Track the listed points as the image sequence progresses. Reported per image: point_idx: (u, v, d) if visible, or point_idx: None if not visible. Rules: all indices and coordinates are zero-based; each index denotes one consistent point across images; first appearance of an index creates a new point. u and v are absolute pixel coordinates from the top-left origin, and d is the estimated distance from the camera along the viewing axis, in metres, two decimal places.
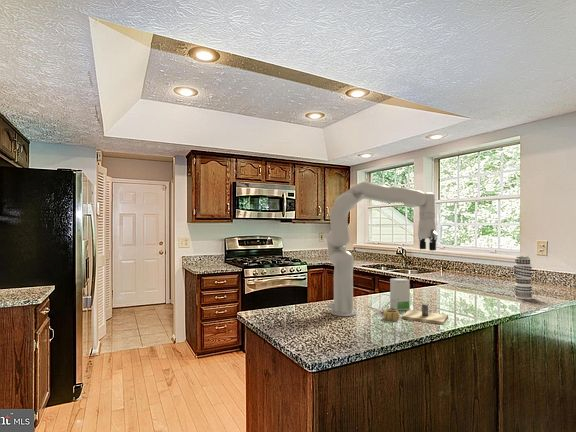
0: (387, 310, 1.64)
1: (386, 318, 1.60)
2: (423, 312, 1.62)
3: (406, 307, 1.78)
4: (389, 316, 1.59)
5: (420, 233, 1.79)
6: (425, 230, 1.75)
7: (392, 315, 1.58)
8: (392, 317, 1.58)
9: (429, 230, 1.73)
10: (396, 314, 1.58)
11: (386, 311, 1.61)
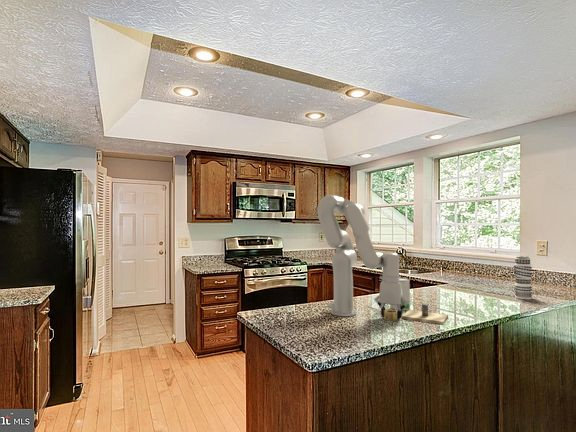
0: (387, 310, 1.64)
1: (386, 318, 1.60)
2: (423, 312, 1.62)
3: (406, 307, 1.78)
4: (389, 316, 1.59)
5: (385, 298, 1.60)
6: (396, 296, 1.58)
7: (392, 315, 1.58)
8: (392, 317, 1.58)
9: (400, 296, 1.58)
10: (396, 314, 1.58)
11: (386, 311, 1.61)
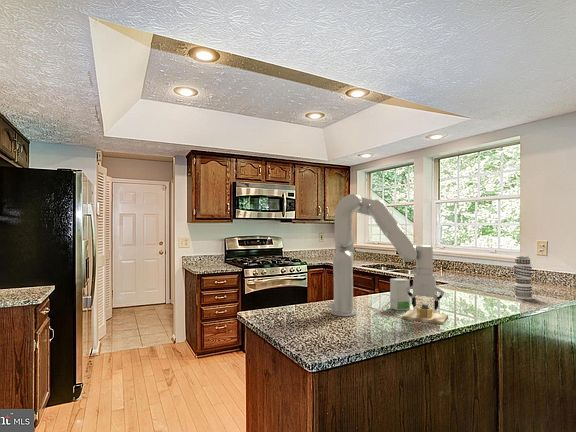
0: (420, 307, 1.65)
1: (420, 315, 1.61)
2: None
3: (406, 307, 1.78)
4: (423, 312, 1.60)
5: (419, 290, 1.62)
6: (430, 288, 1.59)
7: (426, 312, 1.59)
8: (426, 314, 1.59)
9: (435, 287, 1.59)
10: (430, 311, 1.60)
11: (420, 308, 1.62)
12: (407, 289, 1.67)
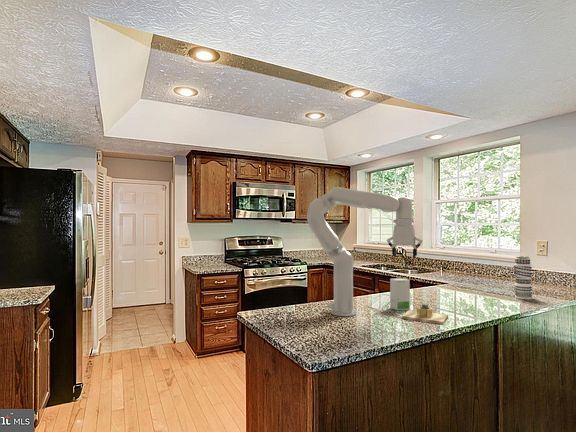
0: (420, 307, 1.65)
1: (420, 315, 1.61)
2: None
3: (406, 307, 1.78)
4: (423, 312, 1.60)
5: (398, 239, 1.70)
6: (409, 236, 1.68)
7: (426, 312, 1.59)
8: (426, 314, 1.59)
9: (413, 236, 1.68)
10: (430, 311, 1.60)
11: (420, 308, 1.62)
12: (388, 240, 1.75)
